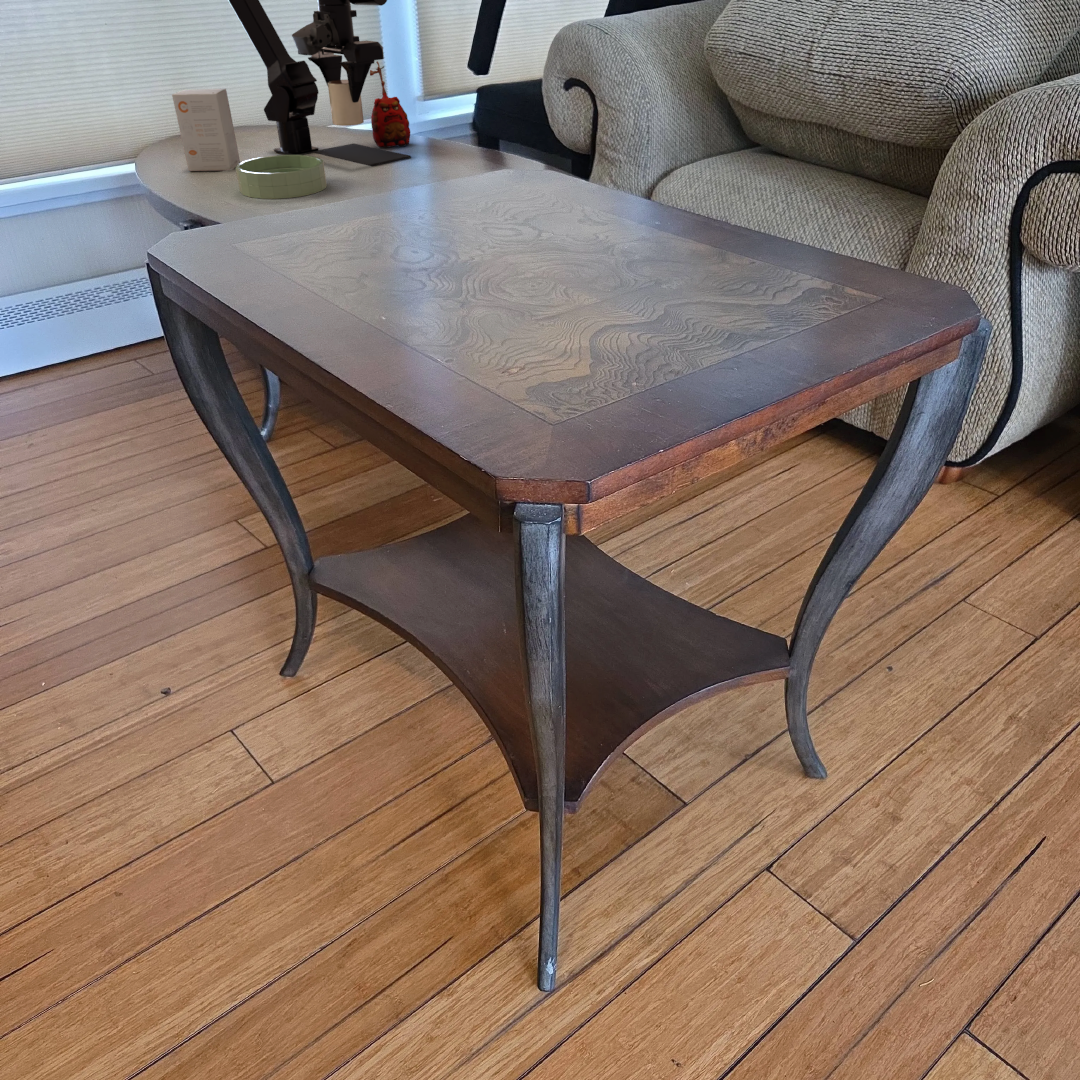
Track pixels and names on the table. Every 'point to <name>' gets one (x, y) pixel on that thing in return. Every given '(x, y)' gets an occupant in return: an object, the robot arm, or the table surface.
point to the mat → (361, 154)
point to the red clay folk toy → (389, 119)
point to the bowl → (281, 176)
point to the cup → (344, 104)
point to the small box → (206, 129)
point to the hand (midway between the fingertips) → (345, 100)
